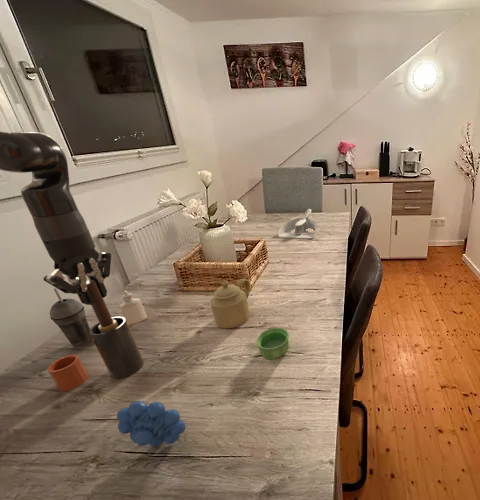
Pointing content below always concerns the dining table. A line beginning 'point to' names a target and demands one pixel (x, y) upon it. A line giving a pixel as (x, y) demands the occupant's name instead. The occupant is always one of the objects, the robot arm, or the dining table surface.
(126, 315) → the eye dropper bottle
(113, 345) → the dark grey tumbler
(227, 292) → the sugar bowl
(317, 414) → the dining table surface
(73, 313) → the beverage cup
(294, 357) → the dining table surface
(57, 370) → the brush holder
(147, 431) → the grapes
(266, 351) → the ramekin
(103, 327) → the brown wooden rod
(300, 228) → the dustpan and brush
